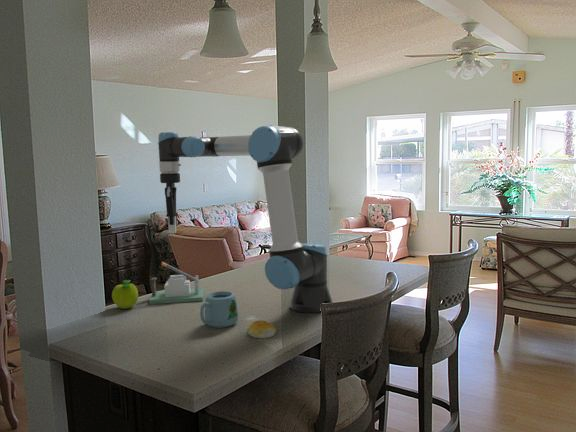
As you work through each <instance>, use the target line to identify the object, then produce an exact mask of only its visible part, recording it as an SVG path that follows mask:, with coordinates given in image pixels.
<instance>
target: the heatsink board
mask: <svg viewBox="0 0 576 432" xmlns="http://www.w3.org/2000/svg"><path fill="white" fill-rule="evenodd" d="M194 277H195V278H194V280H195V281H194V288H191V281H190V280H191V279H187V277H185V276H183V275H181V274H172V275H170V276H169V278H168V279H167V280H166V282H165V284H164V286H163V287H164V290H157V285H156V281H157V280H158V277H152V278H151V280H150V282H151V297H150V299H149V304H148V305H152V304H153V305H154V304H155V305H156V304H157V305H158V304H171V303H173V304H175V303H191V302H195V303H196V302H203V300H204V299H205V298H204V296H205V293H206V289H205V288H200V283H199V282H200V281H199V275H195V276H194Z"/></svg>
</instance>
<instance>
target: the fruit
mask: <svg viewBox="0 0 576 432" xmlns="http://www.w3.org/2000/svg"><path fill="white" fill-rule="evenodd" d="M122 282H123V283H120V284H118V285H115V286H114V288H113V289H112V293H111V298H112V301H113V303H114V304H115V305H116V306H117V307H118V308H119V309H123V310H126V309H127V310H128V309H130V308H132V307H134V306H135V304H136V303H137V302H138V299H139V292H138V291H139V290H138V288H137V286H136V285H135V284H133V283H131V280H130V279H127V280H126V279H124V280H123V281H122Z"/></svg>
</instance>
